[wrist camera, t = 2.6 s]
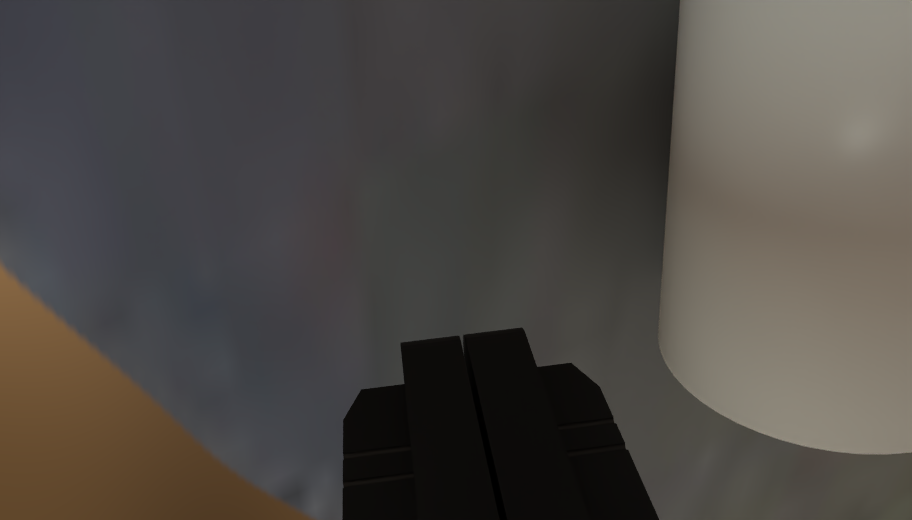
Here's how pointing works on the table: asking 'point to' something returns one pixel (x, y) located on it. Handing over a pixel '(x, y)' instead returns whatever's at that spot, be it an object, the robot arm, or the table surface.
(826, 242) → the paper roll
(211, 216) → the table surface
